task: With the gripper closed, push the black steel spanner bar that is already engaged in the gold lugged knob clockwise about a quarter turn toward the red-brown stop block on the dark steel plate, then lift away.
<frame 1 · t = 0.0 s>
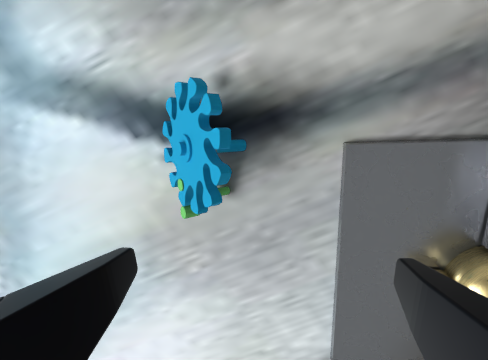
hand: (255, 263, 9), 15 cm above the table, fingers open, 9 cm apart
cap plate: (475, 271, 23), on the table
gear: (206, 146, 23), on the table
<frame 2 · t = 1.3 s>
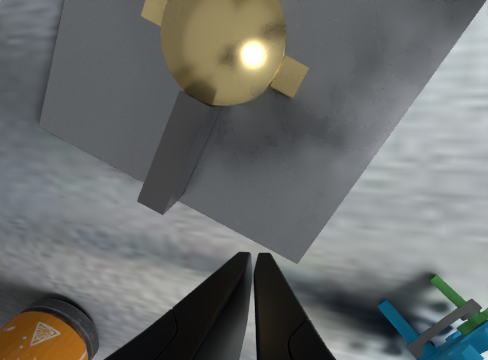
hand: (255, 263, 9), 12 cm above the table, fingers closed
canister: (60, 322, 29), on the table
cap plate: (234, 52, 18), on the table
gold lugged knob: (204, 95, 16), point 3 cm above the table, hinge at 0.0°
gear: (414, 316, 22), on the table
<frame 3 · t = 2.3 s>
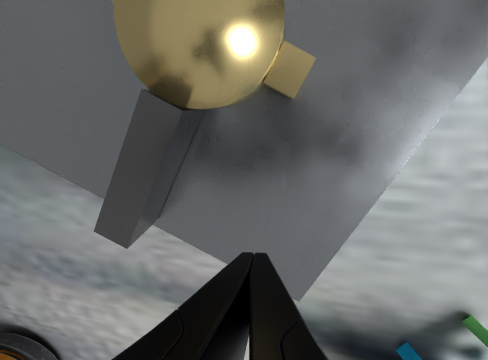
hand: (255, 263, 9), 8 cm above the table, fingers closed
canister: (24, 357, 25), on the table
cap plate: (219, 41, 14), on the table
gold lugged knob: (178, 95, 12), point 3 cm above the table, hinge at 0.0°
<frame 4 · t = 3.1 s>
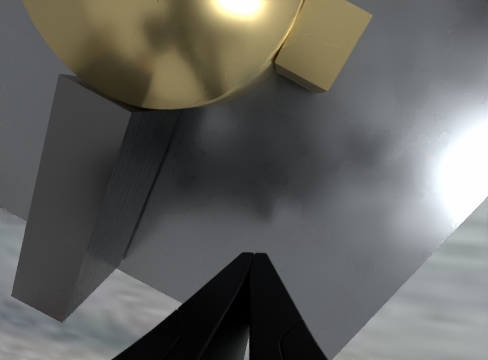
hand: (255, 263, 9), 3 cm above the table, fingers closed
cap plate: (205, 6, 9), on the table
gold lugged knob: (135, 86, 8), point 3 cm above the table, hinge at 0.0°
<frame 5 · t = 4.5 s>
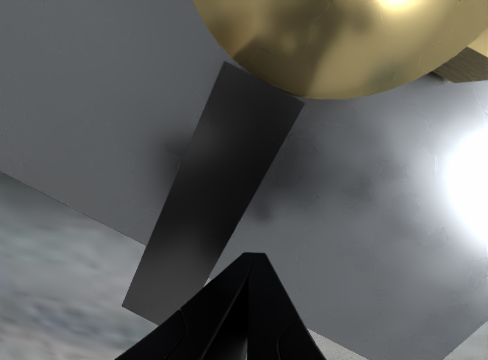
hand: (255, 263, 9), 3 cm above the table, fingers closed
gold lugged knob: (272, 77, 7), point 3 cm above the table, hinge at -0.3°, touching gripper
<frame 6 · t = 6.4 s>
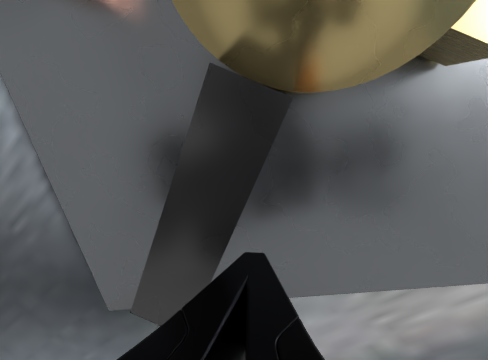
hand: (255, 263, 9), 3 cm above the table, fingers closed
gold lugged knob: (261, 74, 7), point 3 cm above the table, hinge at -34.5°, touching gripper
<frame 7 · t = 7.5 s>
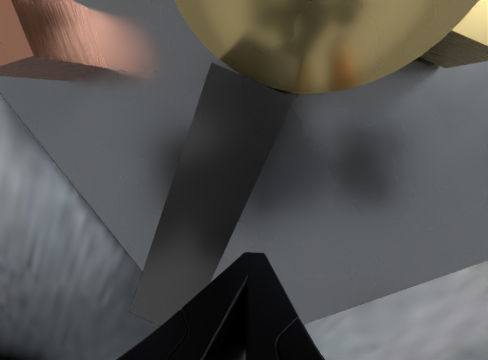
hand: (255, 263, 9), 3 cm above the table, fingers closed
gold lugged knob: (262, 75, 7), point 3 cm above the table, hinge at -54.6°, touching gripper
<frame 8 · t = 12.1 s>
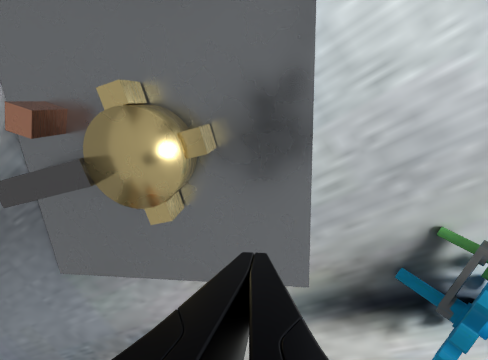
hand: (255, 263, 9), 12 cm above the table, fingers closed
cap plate: (160, 148, 21), on the table
gold lugged knob: (104, 166, 19), point 3 cm above the table, hinge at -77.7°
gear: (440, 276, 21), on the table
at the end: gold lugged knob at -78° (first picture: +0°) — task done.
